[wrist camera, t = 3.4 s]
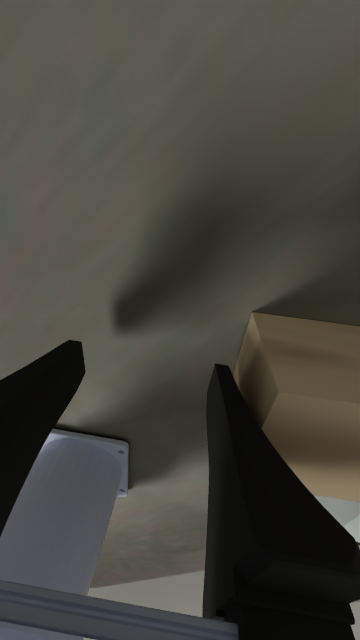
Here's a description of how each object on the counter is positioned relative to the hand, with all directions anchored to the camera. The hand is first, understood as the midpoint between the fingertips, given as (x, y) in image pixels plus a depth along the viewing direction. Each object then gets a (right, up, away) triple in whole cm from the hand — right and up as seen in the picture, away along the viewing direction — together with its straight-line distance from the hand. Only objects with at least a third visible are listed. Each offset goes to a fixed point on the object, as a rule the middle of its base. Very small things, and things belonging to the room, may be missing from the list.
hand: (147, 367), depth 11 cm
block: (+8, 0, +1) cm, 8 cm away
